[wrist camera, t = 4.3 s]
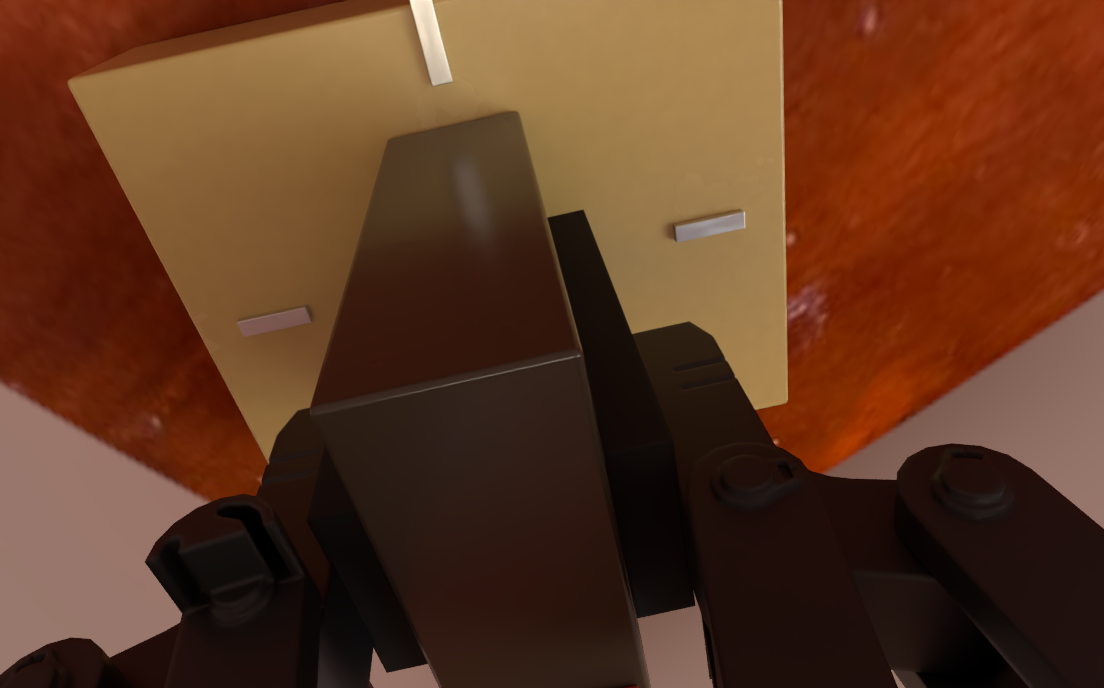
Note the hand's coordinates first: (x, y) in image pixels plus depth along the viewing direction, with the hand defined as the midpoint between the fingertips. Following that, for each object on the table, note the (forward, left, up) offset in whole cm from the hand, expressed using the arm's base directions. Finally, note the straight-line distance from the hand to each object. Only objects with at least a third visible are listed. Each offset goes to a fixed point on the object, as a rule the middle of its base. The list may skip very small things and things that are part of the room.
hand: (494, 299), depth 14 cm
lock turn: (0, 0, -1) cm, 1 cm away
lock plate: (0, 0, -4) cm, 4 cm away
